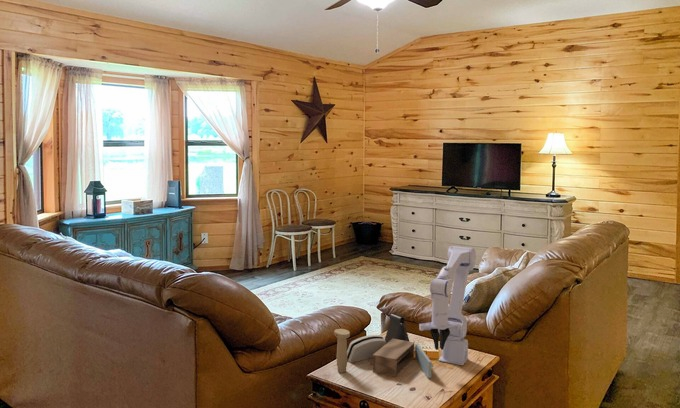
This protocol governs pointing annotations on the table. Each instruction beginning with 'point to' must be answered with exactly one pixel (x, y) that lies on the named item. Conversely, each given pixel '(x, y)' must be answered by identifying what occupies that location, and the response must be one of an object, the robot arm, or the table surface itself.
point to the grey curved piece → (364, 347)
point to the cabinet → (393, 357)
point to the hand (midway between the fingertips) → (439, 348)
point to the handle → (342, 349)
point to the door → (423, 360)
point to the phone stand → (396, 329)
